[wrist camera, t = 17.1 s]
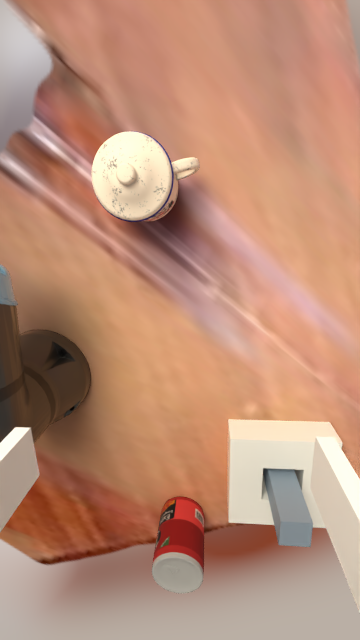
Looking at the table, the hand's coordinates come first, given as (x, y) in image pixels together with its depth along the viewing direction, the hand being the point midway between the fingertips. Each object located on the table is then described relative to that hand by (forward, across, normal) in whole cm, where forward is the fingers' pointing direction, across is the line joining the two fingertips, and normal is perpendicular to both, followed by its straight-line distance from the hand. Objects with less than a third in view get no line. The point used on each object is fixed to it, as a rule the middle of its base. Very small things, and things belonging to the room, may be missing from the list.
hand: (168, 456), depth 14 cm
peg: (+33, +13, -28) cm, 45 cm away
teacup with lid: (+33, -5, +16) cm, 37 cm away
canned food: (+33, -3, -40) cm, 52 cm away
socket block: (+33, +13, -28) cm, 45 cm away
